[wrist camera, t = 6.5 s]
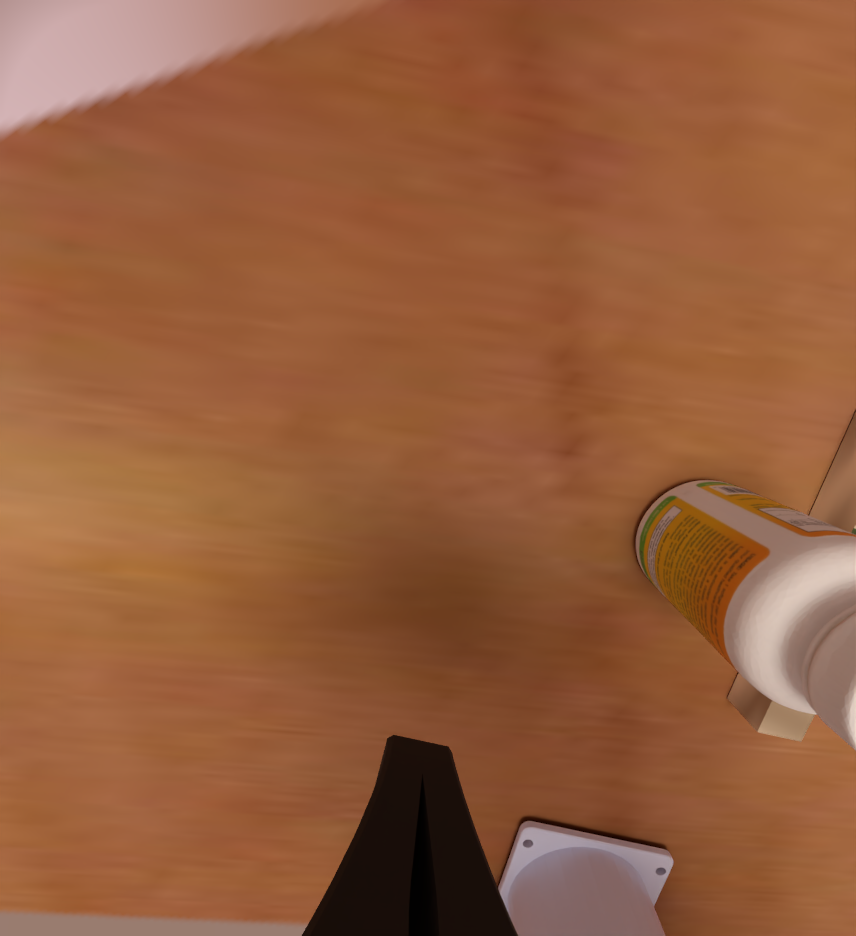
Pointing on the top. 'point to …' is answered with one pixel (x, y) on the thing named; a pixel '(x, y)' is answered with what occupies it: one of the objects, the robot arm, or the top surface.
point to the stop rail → (844, 506)
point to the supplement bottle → (761, 592)
